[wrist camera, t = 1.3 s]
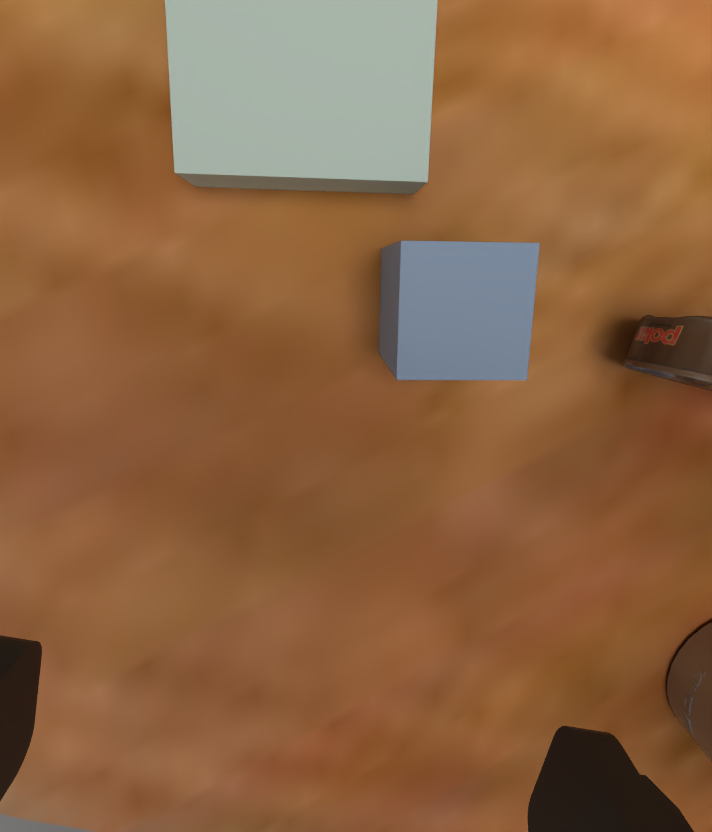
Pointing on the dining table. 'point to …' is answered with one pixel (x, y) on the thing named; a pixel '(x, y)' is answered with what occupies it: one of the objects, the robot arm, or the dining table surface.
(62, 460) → the dining table surface
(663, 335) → the tin
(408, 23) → the sage tile
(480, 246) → the slate block
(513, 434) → the dining table surface
